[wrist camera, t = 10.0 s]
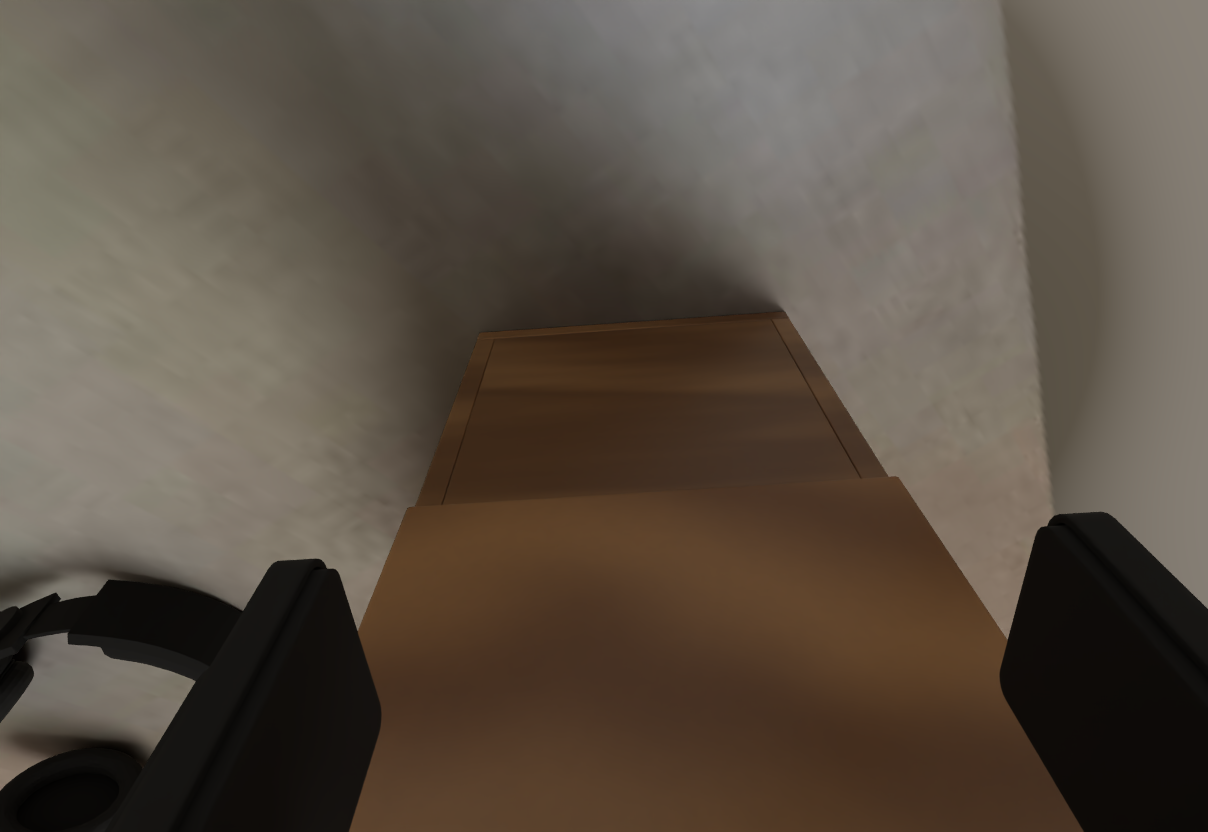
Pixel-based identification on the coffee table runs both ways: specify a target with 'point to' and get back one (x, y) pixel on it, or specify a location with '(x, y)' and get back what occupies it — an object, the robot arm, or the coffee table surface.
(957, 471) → the coffee table surface
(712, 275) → the coffee table surface
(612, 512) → the lid
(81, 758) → the headphones
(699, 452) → the chest
